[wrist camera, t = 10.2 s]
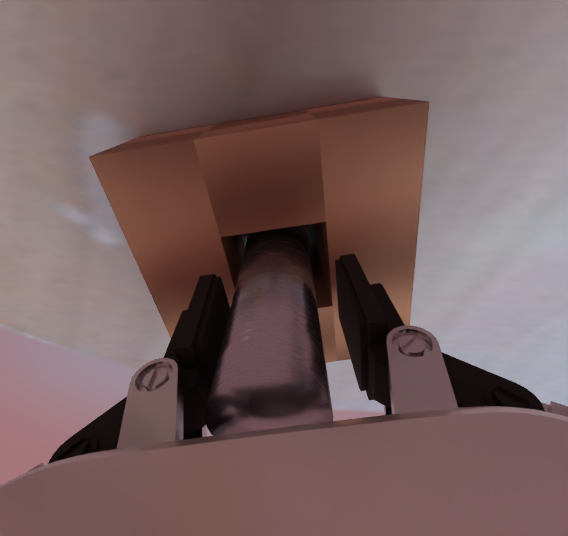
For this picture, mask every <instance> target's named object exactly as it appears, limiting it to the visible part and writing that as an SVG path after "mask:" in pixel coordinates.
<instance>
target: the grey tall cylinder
mask: <svg viewBox="0 0 568 536" xmlns="http://www.w3.org/2000/svg"><path fill="white" fill-rule="evenodd" d="M331 421H333V412H332V405H331V398H330V391H329V384H328V377H327V370H326V363H325V357H324V350H323V343H322V336H321V329H320V322H319V315H318V308H317V301H316V294H315V287H314V280H313V273H312V266H311V259H310V252H309V245H308V239H307V232H306V225H300V226H293V227H287V228H280V229H273V230H267V231H260V232H253V233H249V235H248V239H247V243H246V247H245V251H244V256H243V260H242V264H241V268H240V272H239V276H238V280H237V284H236V288H235V292H234V296H233V300H232V304H231V308H230V312H229V316H228V320H227V325H226V329H225V333H224V337H223V341H222V345H221V349H220V353H219V357H218V361H217V365H216V369H215V373H214V377H213V381H212V385H211V389H210V394H209V398H208V402H207V406H206V410H205V423H206V425H207V428H208V429H209V431H210V432H211V434H212V435H213V436H216V435H224V434H232V433H240V432H248V431H257V430H265V429H273V428H281V427H289V426H298V425H306V424H314V423H323V422H331Z"/></svg>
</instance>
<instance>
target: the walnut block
mask: <svg viewBox="0 0 568 536" xmlns="http://www.w3.org/2000/svg"><path fill="white" fill-rule="evenodd" d="M428 109H429V102H428V101H418V100H409V99H399V98H389V97H379V98H373V99H367V100H361V101H355V102H349V103H343V104H337V105H331V106H324V107H318V108H312V109H306V110H300V111H294V112H288V113H282V114H276V115H270V116H264V117H258V118H251V119H245V120H239V121H233V122H227V123H221V124H215V125H209V126H203V127H197V128H191V129H185V130H178V131H172V132H166V133H160V134H154V135H148V136H142V137H138V138H136V139H133V140H131V141H128V142H126V143H123V144H121V145H118V146H116V147H113V148H110V149H108V150H105V151H103V152H100V153H98V154H95V155H93V156H90V157H89V158H90V160H91V163H92V165H93V167H94V169H95V171H96V174H97V176H98V178H99V180H100V182H101V185H102V187H103V189H104V191H105V193H106V196H107V198H108V200H109V202H110V205H111V207H112V209H113V211H114V213H115V216H116V218H117V220H118V222H119V224H120V227H121V229H122V231H123V233H124V235H125V238H126V240H127V242H128V244H129V246H130V249H131V251H132V253H133V255H134V258H135V260H136V262H137V264H138V266H139V269H140V271H141V273H142V275H143V277H144V280H145V282H146V284H147V286H148V288H149V291H150V293H151V295H152V297H153V299H154V302H155V304H156V306H157V308H158V311H159V313H160V315H161V317H162V319H163V322H164V324H165V326H166V328H167V330H168V333H169V335H170V337H171V338H172V335H173V333H174V330H175V328H176V325H177V323H178V320H179V318H180V315H181V313H182V311H184V310H187V309H188V307H189V304H190V301H191V299H192V296H193V293H194V291H195V288H196V285H197V282H198V280H199V277H200V276H202V275H209V274H215V275H216V277H221V279H222V282H223V285H224V289H225V292H226V295H227V299H228V302H229V305H230V308H231V304H232V300H233V296H234V292H235V288H236V284H237V280H238V276H239V272H240V268H241V264H242V260H243V256H244V251H245V248H244V243H243V239H242V235H241V234H246V233H253V232H260V231H267V230H273V229H280V228H287V227H293V226H300V225H307V224H314V223H315V224H316V234H317V245H318V255H319V256H318V257H311V258H310V259H311V266H312V273H313V280H314V287H315V294H316V301H317V308H318V315H319V322H320V329H321V336H322V343H323V350H324V357H325V362H332V361H340V360H348V359H351V358H350V354H349V351H348V347H347V344H346V341H345V337H344V334H343V330H342V327H341V324H340V320H339V313H338V298H337V284H336V269H335V260H338V259H340V256H341V255H348V254H355V255H356V257H357V259H358V261H359V263H360V265H361V267H362V269H363V271H364V273H365V275H366V277H367V279H368V281H369V283H370V284H375V283H381V284H382V285H383V287H384V289H385V290H386V292H387V294H388V296H389V298H390V299H391V301H392V303H393V305H394V307H395V308H396V310H397V312H398V314H399V315H400V317H401V319H402V321H403V323H404V324H405V326H408V325H410V314H411V302H412V291H413V280H414V268H415V257H416V246H417V234H418V223H419V212H420V200H421V189H422V178H423V166H424V155H425V144H426V132H427V121H428Z"/></svg>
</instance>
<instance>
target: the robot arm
mask: <svg viewBox="0 0 568 536" xmlns="http://www.w3.org/2000/svg"><path fill="white" fill-rule="evenodd" d="M335 269H336V284H337V298H338V313H339V320H340V324H341V327H342V330H343V334H344V337H345V341H346V344H347V347H348V351H349V354H350V358H351V361H352V364H353V368H354V371H355V375H356V378H357V381H358V385H359V388H360V391H364V390H366V392H367V396H368V399H369V400H376V401H378V402H379V403H381V404H383V405H384V415H383V416H376V417H375V416H374V417H366V418H357V419H348V420H340V421H331V422H323V423H314V424H306V425H298V426H289V427H281V428H273V429H265V430H257V431H248V432H240V433H232V434H224V435H216V436H209V437H207V434H206V426H205V425H206V423H205V410H206V406H207V402H208V398H209V394H210V389H211V385H212V381H213V377H214V373H215V369H216V365H217V361H218V357H219V353H220V349H221V345H222V341H223V337H224V333H225V329H226V325H227V320H228V316H229V312H230V305H229V302H228V299H227V295H226V292H225V289H224V285H223V282H222V279H221V277H216V275H215V274H209V275H202V276H200V277H199V280H198V282H197V285H196V288H195V291H194V293H193V296H192V299H191V301H190V304H189V307H188V309H187V310H184V311H182V313H181V315H180V318H179V320H178V323H177V325H176V328H175V330H174V333H173V335H172V338H171V341H170V343H169V346H168V348H167V351H166V353H165V356H164V358H159V359H155V360H153V361H150V362H148V363H147V364H145V365H143V366H142V367H141V368H140V369H139V370H138V371H137V372H136V373H135V374H134V376H133V377H132V379H131V382H130V386H129V390H128V395H127V397H126V398H124V399H123V400H122V401H120V402H119V403H117V404H116V405H115V406H113V407H112V408H110V409H109V410H108V411H106V412H105V413H104V414H102V415H101V416H99V417H98V418H97V419H95V420H94V421H92V422H91V423H90V424H88V425H87V426H86V427H84V428H83V429H81V430H80V431H79V432H77V433H76V434H75V435H73V436H72V437H70V438H69V439H68V440H67V441H66V442H64V444H62V445H61V446H60V447H59V448H58V449H57V451H56V452H55V453H54V454H53V456H52V458H51V459H50V461H49V463H48V464H47V465H44V464H43V463H41V464H39V465H37V466H36V467H34V468H33V469H31V470H30V471H28V472H27V473H24V474H23V475H20V476H18V477H16V478H14V479H12V480H10V481H8V482H6V483H4V484H3V485H0V536H568V406H565V405H561V404H558V403H555V402H552V401H551V402H550V404H549V405H547V404H544V403H541V402H540V401H539V400H538V398H537V397H536V396H535V395H534V394H533V393H531V392H530V391H529V390H527V389H526V388H524V387H522V386H520V385H518V384H517V383H514V382H512V381H509V380H507V379H505V378H502V377H500V376H497V375H495V374H493V373H490V372H488V371H485V370H483V369H480V368H478V367H476V366H473V365H471V364H468V363H466V362H464V361H461V360H459V359H456V358H454V357H452V356H449V355H447V354H444V353H442V352H441V350H440V346H439V343H438V341H437V339H436V337H434V336H433V335H432V334H431V333H430V332H428V331H427V330H425V329H423V328H420V327H417V326H409V325H408V326H405V324H404V323H403V321H402V319H401V317H400V315H399V314H398V312H397V310H396V308H395V307H394V305H393V303H392V301H391V299H390V298H389V296H388V294H387V292H386V290H385V289H384V287H383V285H382V284H381V283H375V284H370V283H369V281H368V279H367V277H366V275H365V273H364V271H363V269H362V267H361V265H360V263H359V261H358V259H357V257H356V255H355V254H348V255H341V256H340V259H338V260H335Z"/></svg>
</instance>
